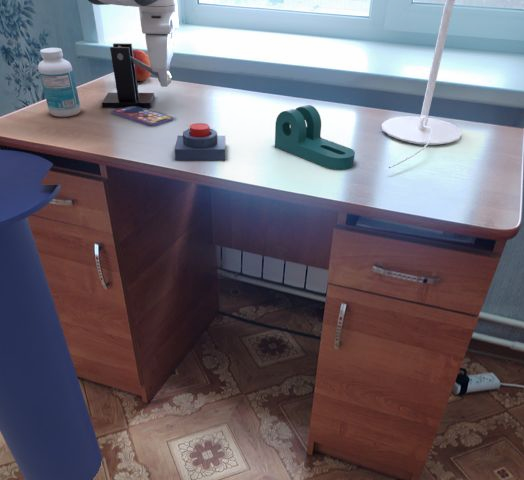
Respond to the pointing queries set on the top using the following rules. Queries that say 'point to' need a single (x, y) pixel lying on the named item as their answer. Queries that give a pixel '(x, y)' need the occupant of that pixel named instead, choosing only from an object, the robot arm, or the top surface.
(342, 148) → the bracket
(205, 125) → the button
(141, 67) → the lever
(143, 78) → the fruit
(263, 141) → the top surface
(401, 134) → the desk lamp
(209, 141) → the button box
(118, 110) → the smartphone
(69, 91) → the pill bottle
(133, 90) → the bracket
